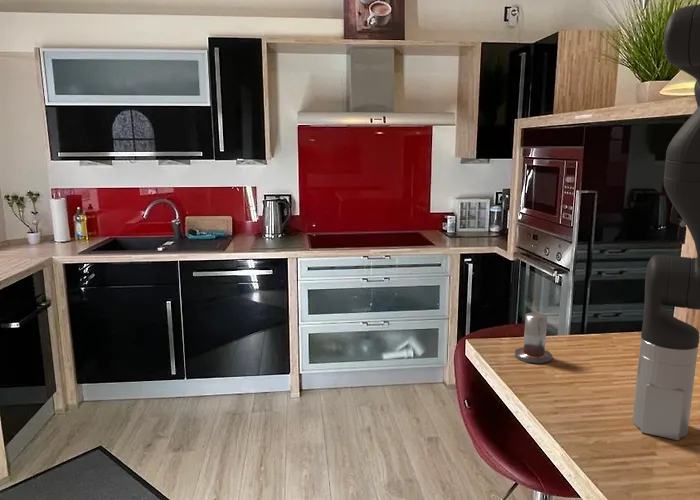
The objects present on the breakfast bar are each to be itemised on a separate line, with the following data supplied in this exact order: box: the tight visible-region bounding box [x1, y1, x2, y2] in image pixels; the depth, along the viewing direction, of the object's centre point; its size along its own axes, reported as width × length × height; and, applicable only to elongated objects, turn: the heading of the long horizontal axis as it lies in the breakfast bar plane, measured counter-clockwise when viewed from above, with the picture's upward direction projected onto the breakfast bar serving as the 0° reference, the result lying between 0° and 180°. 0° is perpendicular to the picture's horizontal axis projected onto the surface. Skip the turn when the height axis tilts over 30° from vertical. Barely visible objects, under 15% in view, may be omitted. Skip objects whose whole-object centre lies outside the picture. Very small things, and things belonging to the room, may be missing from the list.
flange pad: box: [514, 346, 553, 365], centre depth 135 cm, size 9×9×1 cm
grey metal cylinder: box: [522, 312, 548, 357], centre depth 134 cm, size 5×5×10 cm
